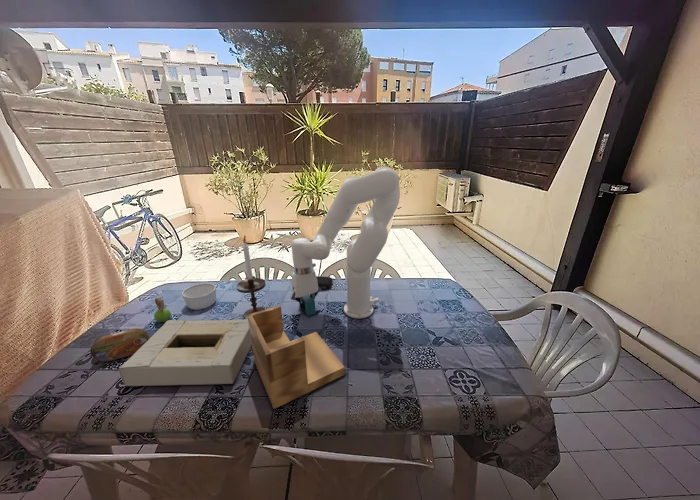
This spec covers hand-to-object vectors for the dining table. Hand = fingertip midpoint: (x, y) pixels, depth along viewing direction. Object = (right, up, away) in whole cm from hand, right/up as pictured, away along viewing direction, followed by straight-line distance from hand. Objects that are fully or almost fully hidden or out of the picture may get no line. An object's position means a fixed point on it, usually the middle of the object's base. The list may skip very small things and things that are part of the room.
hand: (307, 307), depth 115 cm
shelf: (+2, -13, -30) cm, 33 cm away
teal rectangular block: (0, -1, 0) cm, 1 cm away
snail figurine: (-56, -4, -6) cm, 57 cm away
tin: (-58, -11, -24) cm, 63 cm away
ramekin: (-48, 0, +6) cm, 48 cm away
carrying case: (+2, +7, +22) cm, 23 cm away
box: (-32, -11, -25) cm, 42 cm away
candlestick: (-21, -3, -3) cm, 21 cm away
